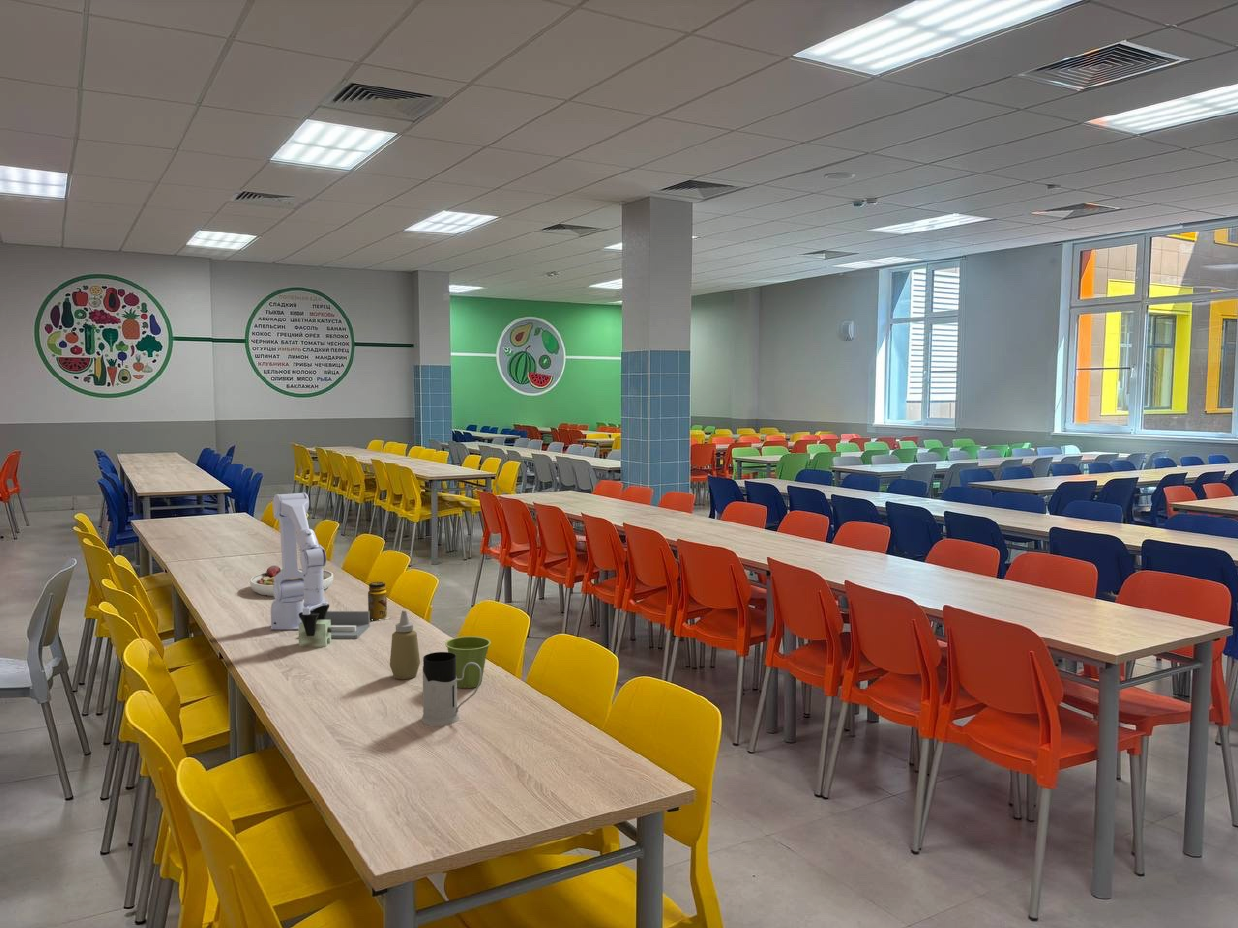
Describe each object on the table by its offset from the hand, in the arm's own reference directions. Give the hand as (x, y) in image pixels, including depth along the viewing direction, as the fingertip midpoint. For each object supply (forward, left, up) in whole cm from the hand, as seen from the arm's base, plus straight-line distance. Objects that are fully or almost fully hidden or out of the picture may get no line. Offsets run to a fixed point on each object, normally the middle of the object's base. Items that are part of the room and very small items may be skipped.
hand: (314, 632), depth 260 cm
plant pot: (+52, -35, -4) cm, 63 cm away
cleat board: (+2, +13, -4) cm, 14 cm away
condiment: (+10, +30, -4) cm, 32 cm away
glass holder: (+52, -59, -4) cm, 79 cm away
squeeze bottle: (+34, -29, -4) cm, 45 cm away
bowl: (-33, +72, -4) cm, 79 cm away
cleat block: (0, 0, -4) cm, 4 cm away
